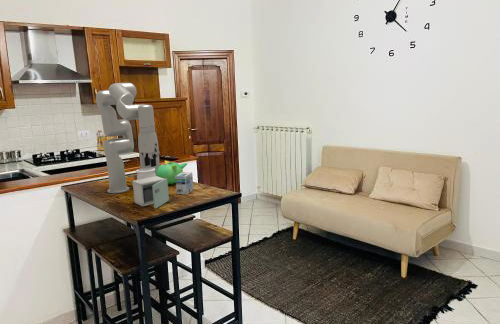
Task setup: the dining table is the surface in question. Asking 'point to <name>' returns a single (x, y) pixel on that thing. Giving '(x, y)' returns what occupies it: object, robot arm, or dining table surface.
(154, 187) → the door
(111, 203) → the dining table surface
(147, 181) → the housing
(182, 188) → the light bulb box
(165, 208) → the dining table surface
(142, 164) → the cylinder vase
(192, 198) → the dining table surface
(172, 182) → the toy bird
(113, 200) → the dining table surface
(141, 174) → the jar
